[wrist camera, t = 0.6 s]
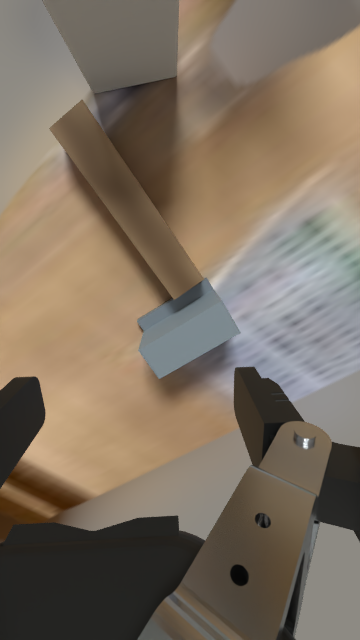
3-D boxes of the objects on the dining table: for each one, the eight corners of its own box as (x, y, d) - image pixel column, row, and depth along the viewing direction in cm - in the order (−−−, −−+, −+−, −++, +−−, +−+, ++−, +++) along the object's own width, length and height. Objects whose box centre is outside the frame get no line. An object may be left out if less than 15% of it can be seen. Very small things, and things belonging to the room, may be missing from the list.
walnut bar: (93, 117, 29) (82, 99, 25) (200, 274, 34) (204, 279, 30) (64, 142, 30) (49, 128, 26) (173, 292, 35) (174, 300, 31)
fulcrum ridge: (206, 277, 34) (214, 288, 27) (233, 323, 36) (247, 344, 29) (137, 319, 35) (130, 338, 29) (167, 361, 37) (166, 389, 30)
